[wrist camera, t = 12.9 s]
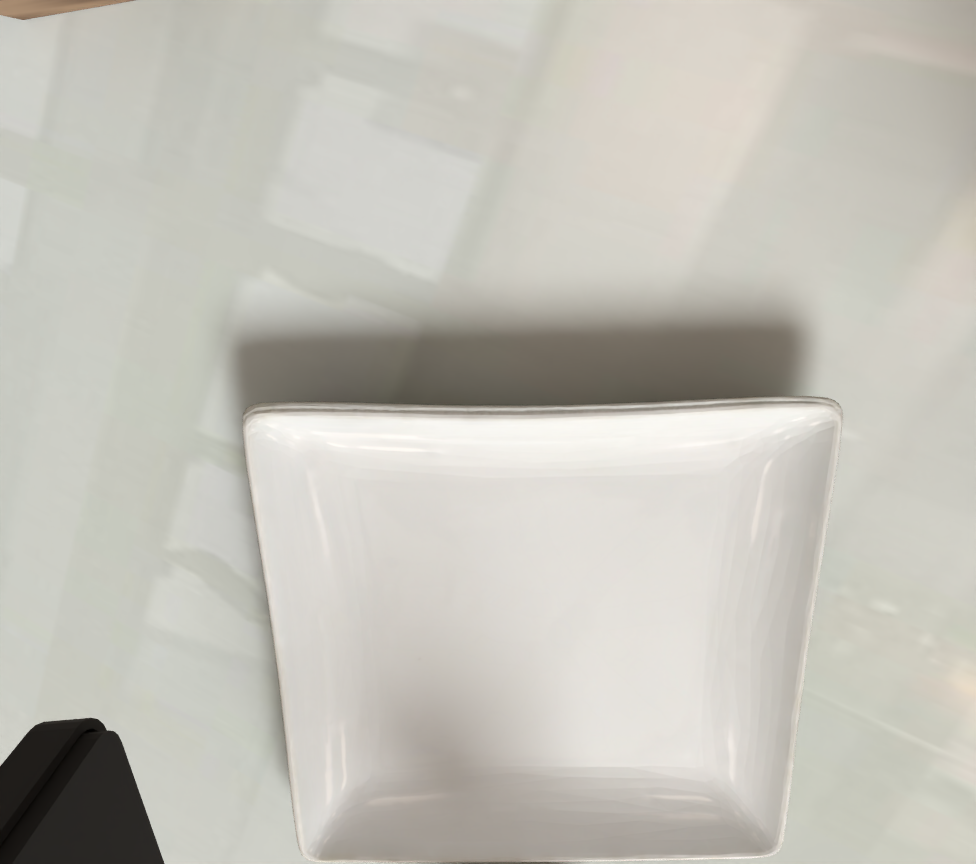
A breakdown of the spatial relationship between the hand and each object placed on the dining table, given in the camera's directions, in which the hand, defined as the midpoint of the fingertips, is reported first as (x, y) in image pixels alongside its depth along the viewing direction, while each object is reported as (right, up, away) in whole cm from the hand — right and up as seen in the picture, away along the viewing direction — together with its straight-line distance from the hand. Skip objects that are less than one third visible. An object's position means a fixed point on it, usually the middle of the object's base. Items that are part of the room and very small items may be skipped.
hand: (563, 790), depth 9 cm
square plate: (+2, -6, +36) cm, 36 cm away
